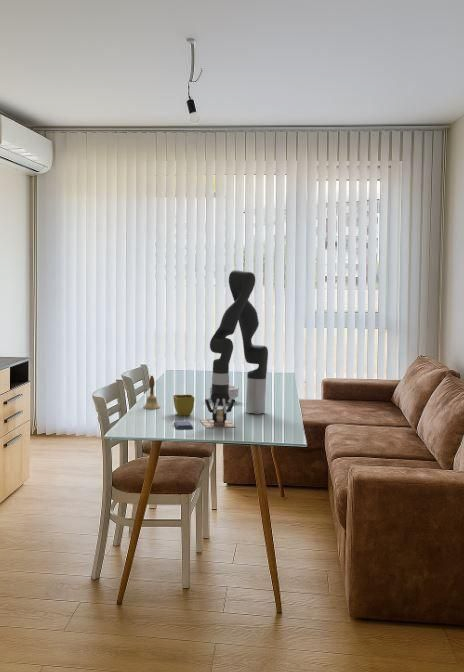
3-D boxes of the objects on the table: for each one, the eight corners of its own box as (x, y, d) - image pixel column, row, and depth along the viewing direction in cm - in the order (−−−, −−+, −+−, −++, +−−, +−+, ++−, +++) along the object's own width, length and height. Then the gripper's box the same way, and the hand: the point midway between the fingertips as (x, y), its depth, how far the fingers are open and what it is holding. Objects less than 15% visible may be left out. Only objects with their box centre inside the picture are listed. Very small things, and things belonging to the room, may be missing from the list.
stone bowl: (238, 404, 338) (238, 389, 337) (208, 403, 338) (209, 388, 337) (238, 399, 353) (238, 384, 352) (210, 398, 353) (210, 384, 352)
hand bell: (149, 409, 317) (149, 377, 316) (140, 407, 323) (140, 375, 322) (163, 408, 322) (164, 376, 321) (154, 405, 328) (154, 374, 327)
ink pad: (173, 424, 286) (173, 421, 285) (189, 424, 287) (189, 420, 287) (176, 429, 277) (176, 425, 277) (192, 428, 278) (192, 425, 278)
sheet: (199, 420, 296) (199, 419, 296) (227, 419, 299) (227, 418, 299) (206, 428, 280) (206, 427, 280) (235, 427, 283) (235, 426, 283)
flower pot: (175, 417, 302) (176, 398, 301) (172, 413, 310) (173, 394, 309) (194, 416, 304) (194, 397, 303) (190, 412, 313) (191, 394, 312)
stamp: (212, 423, 287) (212, 408, 287) (223, 423, 289) (223, 408, 288) (215, 426, 283) (215, 410, 282) (226, 426, 284) (226, 410, 283)
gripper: (234, 381, 289) (232, 419, 291) (203, 381, 286) (201, 420, 288) (238, 384, 282) (236, 423, 284) (206, 384, 279) (205, 423, 280)
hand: (219, 421), depth 286 cm, fingers closed on stamp, 3 cm apart
